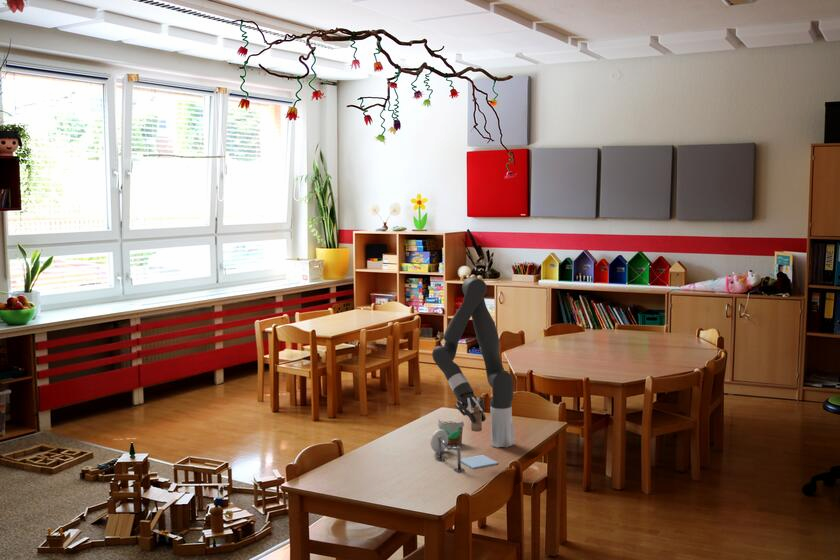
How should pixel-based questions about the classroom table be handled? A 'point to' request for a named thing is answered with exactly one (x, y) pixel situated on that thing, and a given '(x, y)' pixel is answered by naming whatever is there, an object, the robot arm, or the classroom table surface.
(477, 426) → the brown bottle
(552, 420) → the classroom table surface
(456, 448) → the grey stand
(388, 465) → the classroom table surface
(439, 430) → the grey wheel
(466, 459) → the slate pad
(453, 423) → the food container
